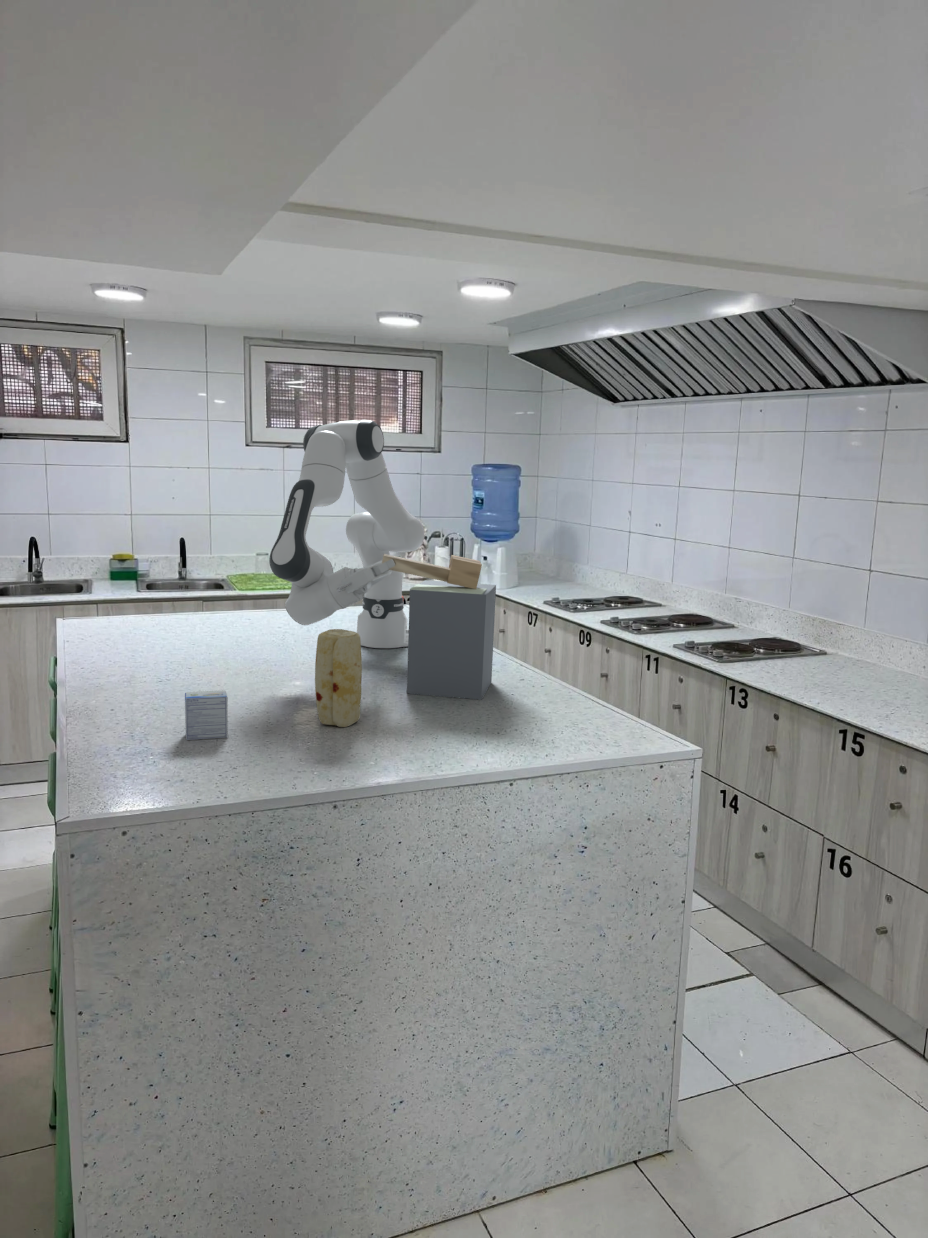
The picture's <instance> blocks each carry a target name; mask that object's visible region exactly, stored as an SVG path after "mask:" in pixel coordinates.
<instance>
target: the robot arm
mask: <svg viewBox="0 0 928 1238" xmlns="http://www.w3.org/2000/svg"><path fill="white" fill-rule="evenodd" d="M384 438H385V437H384V433H383V430H382V428H381V427H380V425H379V424H378V423H377V422H375V421H374V420H369V419H361V420H340V421H338V422H330V423H326V424H317V425H315V426H312V427H310V428H309V429H308V430H307V431H306V432H305V434H304V436H303V440H302V441H303V442H302V444H303V450H304V451H303V452H304V455H303V458H302V462H301V463H302V464H301V469H300V474H299V477H298V478H299V479H298V481H297V482H296V483H294V485H293V486H292V488H291V491H290V492H289V493H290V494H289V496H288V499H287V503H286V506H285V511H284V515H283V518H282V522H281V525H280V530H279V533H278V535H277V538H276V540H275V542H274V545H273V546H272V548H271V551H270V554H269V562H268V563H269V567H270V571H271V573H272V574H273V575H274V576H275V577H278V578H279V579H282V580H284V581H286V582H290V583H291V587H290V588H291V589H290V592H289V595H288V598H287V599H286V601H285V603H284V606H285V611H286V612H287V613H288V615H289V617H290V618H291V619H292V620H293V621H294V622H296V623H298V624H299V625H301V626H310V625H313V624H315V623H318V622H320V621H323V620H325V619H327V618H329V617H330V616H332V615H333V614H335V612H337V611H340V610H344V609H346V608H349V607H350V606H352V605H354V604H357V603H358V602H361V601H362V609H363V610H362V611H361V612H359V614H358V615H357V622H356V633H358V634H359V636H360V641H361V647H367V648H375V649H396V648H402V647H403V648H405V647H406V648H408V634H409V628H408V625H409V619H408V618H407V615H406V613H405V611H404V607H405V606H404V605H405V603H404V600H405V599H404V596H403V573H402V572H398V571H393V570H388V569H390V568H392V567H394V566H395V565H396V562H395V560H394V559H391V560H389V561H387V562H384V563H382V560H383V555H384V554H387V555H391V554H390V552H392V553H393V552H395V553H409V552H414V551H417V550H418V549H419V548H420V547H421V546H422V545H423V542H424V539H425V528H424V525H423V523H422V522H421V520H420V519H419V518H418V517H416V516H414V515H413V514H411V512H410V511H408V510H407V508H406V507H405V506H404V504H403V503H402V502H401V500H400V499H399V497H398V496H397V494H396V492H395V489H394V486H393V484H392V481H391V479H390V475H389V472H388V468H387V465H386V462H385V459H384V456H383V451H384V448H385V447H384V445H385V439H384ZM346 473H347V477H348V481H349V483H350V487H351V490H352V493H353V497H354V500H355V502H356V503H357V504H358V506H359V507H361V508H363V509H364V510H365V511H363V512H362V511H361V512H357V513H353V514H352V515H351V516H350V517H349V518H348V520H347V523H346V526H345V534H346V537H347V539H348V542H350V544H351V545H352V546H353V547H354V548H355V550H356V552H357V554H358V555H359V557H360V560H361V563H362V564H361V565H362V567H361V568H357V567H355V568H351V567H350V568H349V567H346V566H345V567H342V568H340V569H338V570H336V571H335V572H334V569H333V565H332V563H331V561H330V560H329V559H328V558H327V557H326V556H324V555H323V554H322V553H320V552H318V551H316V550H315V549H313V548H311V547H310V545H309V544H308V541H307V539H306V537H307V536H306V535H307V530H308V528H309V525H310V524H309V523H310V519H311V516H312V515H311V514H312V512H313V510H314V508H320V507H321V508H323V507H329V506H331V505H333V504H334V503H336V502H337V501H338V500H339V499H340V498H341V496H342V494H343V491H344V490H343V489H344V485H345V476H346Z"/></svg>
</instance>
